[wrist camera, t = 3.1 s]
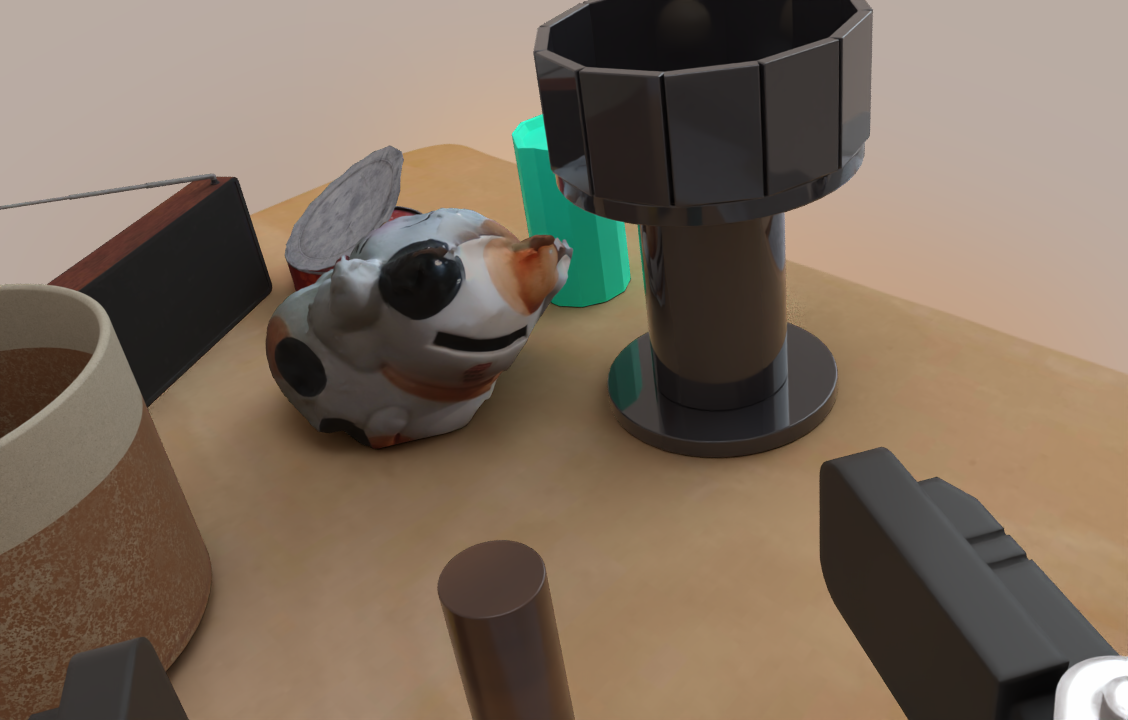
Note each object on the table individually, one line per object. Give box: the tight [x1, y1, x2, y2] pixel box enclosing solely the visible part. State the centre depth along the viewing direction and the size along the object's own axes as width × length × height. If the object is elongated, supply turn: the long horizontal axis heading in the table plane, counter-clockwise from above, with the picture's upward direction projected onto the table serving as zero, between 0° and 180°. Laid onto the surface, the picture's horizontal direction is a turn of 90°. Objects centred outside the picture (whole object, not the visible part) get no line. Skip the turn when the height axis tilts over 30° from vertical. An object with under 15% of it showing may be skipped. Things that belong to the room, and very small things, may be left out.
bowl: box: [533, 0, 873, 458], centre depth 51 cm, size 14×14×20 cm
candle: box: [512, 114, 631, 307], centre depth 65 cm, size 6×6×12 cm
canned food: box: [285, 146, 422, 291], centre depth 71 cm, size 11×10×10 cm
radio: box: [0, 174, 272, 407], centre depth 63 cm, size 19×3×15 cm, turn 161°
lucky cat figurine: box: [266, 208, 573, 449], centre depth 57 cm, size 15×12×14 cm
